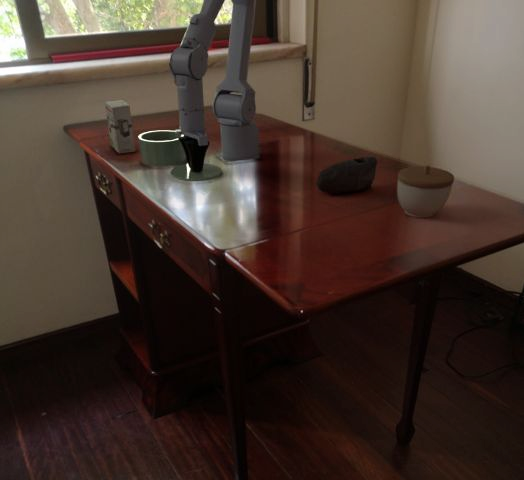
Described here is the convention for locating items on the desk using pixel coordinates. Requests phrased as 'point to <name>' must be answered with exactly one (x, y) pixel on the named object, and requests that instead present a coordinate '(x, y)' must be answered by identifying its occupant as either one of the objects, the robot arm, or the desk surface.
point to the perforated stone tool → (348, 176)
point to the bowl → (161, 148)
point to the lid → (189, 175)
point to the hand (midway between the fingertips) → (195, 169)
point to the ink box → (120, 126)
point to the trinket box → (423, 190)
